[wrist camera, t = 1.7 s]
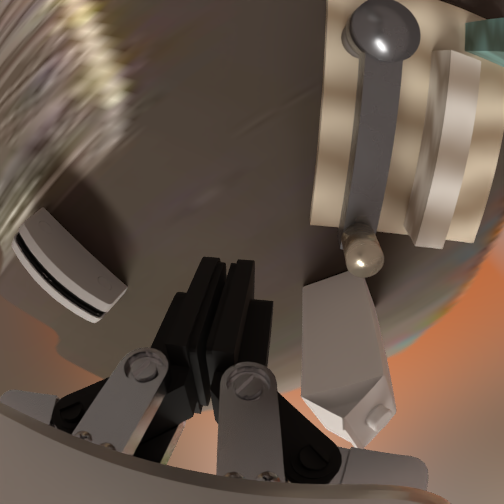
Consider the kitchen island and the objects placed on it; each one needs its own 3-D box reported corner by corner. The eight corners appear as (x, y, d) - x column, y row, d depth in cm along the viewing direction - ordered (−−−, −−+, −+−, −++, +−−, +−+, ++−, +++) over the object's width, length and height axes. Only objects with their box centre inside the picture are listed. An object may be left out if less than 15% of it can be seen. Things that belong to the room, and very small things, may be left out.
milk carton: (322, 325, 40) (326, 465, 24) (301, 285, 37) (298, 438, 21) (375, 308, 37) (402, 448, 21) (359, 265, 34) (391, 418, 18)
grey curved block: (31, 227, 38) (-6, 249, 28) (47, 202, 37) (9, 219, 28) (113, 304, 43) (93, 342, 33) (131, 283, 42) (114, 319, 33)
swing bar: (346, 1, 16) (362, -19, 11) (406, 13, 15) (436, 1, 11) (324, 235, 26) (330, 275, 21) (375, 240, 25) (390, 279, 21)
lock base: (326, -21, 19) (339, -56, 12) (504, 32, 18) (559, 33, 10) (309, 217, 32) (313, 269, 25) (467, 236, 30) (503, 283, 23)
